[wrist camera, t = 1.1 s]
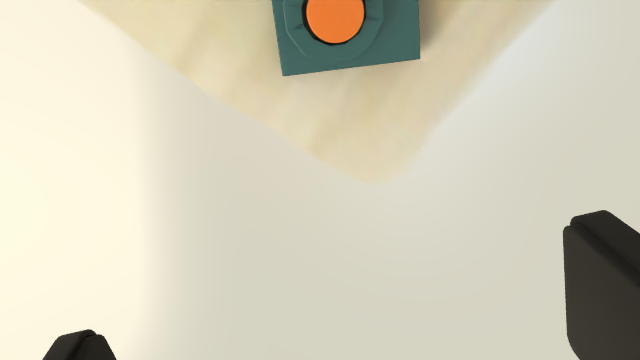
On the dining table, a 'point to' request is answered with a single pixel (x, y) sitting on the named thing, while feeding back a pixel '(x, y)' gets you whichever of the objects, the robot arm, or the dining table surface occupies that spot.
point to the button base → (361, 50)
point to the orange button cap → (335, 18)
